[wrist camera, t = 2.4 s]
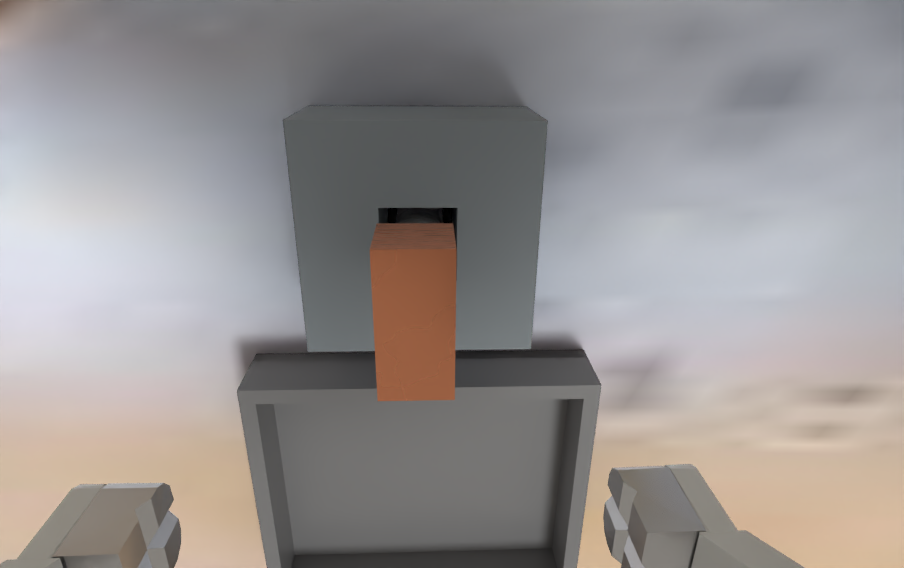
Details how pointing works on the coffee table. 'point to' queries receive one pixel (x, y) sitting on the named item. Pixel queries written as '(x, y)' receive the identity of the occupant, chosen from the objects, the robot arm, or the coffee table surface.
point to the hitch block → (417, 186)
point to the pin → (414, 306)
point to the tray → (421, 462)
